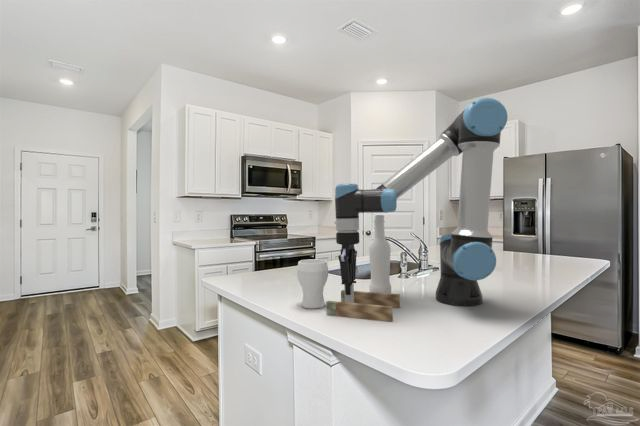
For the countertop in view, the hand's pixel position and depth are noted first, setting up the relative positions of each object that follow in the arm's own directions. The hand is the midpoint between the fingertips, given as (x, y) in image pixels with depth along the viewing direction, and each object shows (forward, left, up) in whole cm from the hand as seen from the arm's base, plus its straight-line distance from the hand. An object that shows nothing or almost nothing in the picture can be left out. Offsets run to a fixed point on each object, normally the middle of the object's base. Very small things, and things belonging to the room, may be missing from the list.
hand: (349, 303), depth 111 cm
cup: (+13, 0, -2) cm, 13 cm away
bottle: (-6, -20, -2) cm, 21 cm away
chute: (-5, 0, -2) cm, 5 cm away
